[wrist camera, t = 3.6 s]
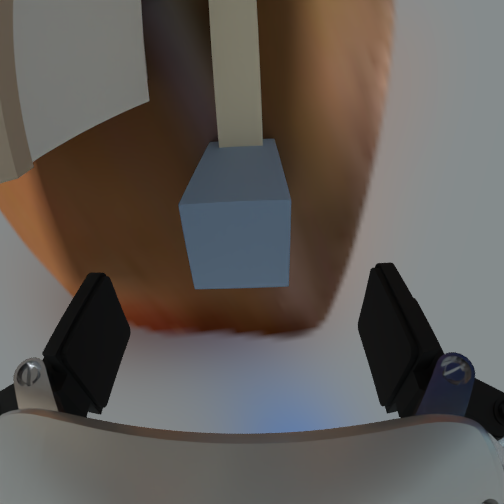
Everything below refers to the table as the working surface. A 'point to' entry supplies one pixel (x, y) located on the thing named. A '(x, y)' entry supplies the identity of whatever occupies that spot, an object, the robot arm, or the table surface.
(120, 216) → the table surface
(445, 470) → the robot arm
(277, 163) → the light blue block
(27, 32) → the cabinet
